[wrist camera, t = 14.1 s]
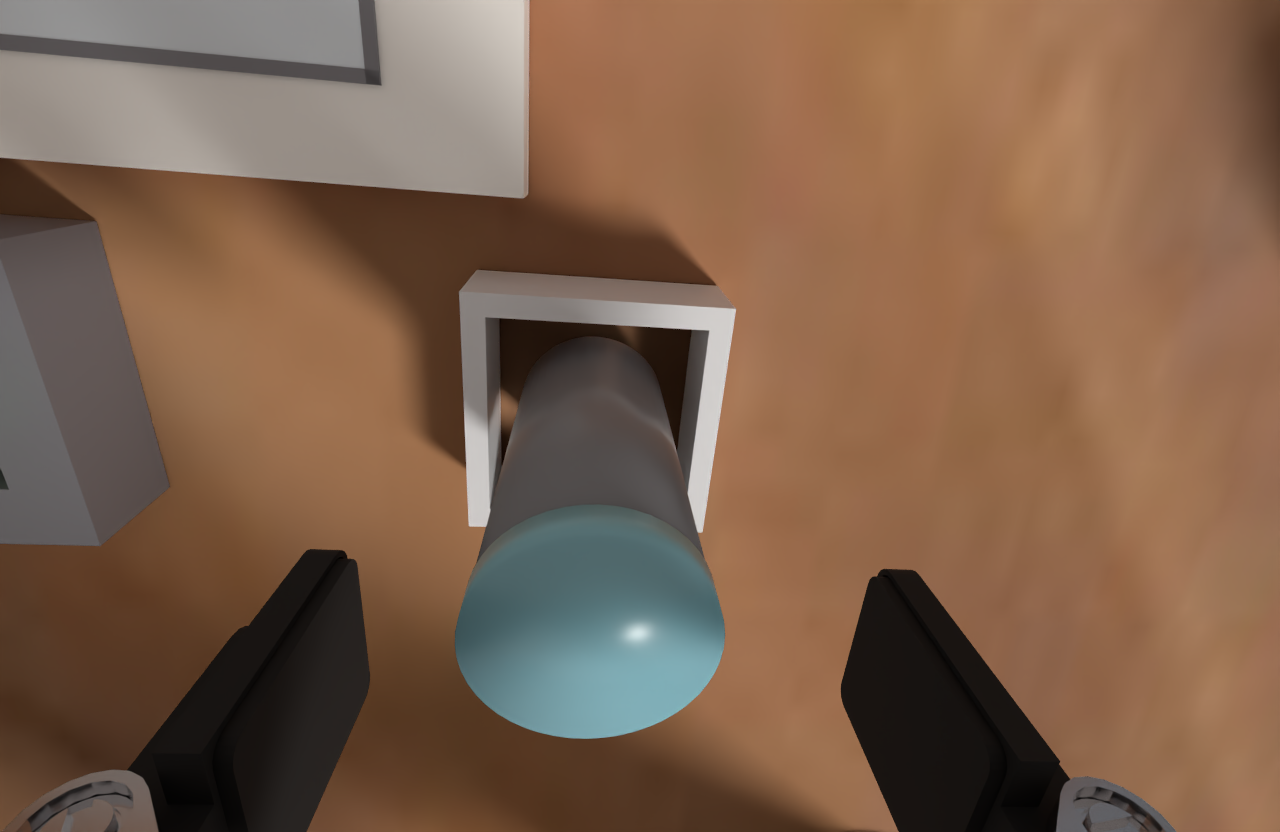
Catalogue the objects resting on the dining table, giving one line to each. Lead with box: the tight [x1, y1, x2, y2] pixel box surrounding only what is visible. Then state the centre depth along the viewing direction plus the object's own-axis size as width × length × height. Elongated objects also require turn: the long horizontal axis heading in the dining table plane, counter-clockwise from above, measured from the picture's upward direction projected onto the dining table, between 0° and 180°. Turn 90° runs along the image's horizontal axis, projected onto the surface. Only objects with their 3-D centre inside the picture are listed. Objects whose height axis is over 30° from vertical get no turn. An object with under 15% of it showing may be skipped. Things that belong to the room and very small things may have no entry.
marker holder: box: [459, 270, 736, 532], centre depth 18 cm, size 7×7×2 cm
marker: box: [455, 337, 725, 739], centre depth 14 cm, size 4×4×10 cm
